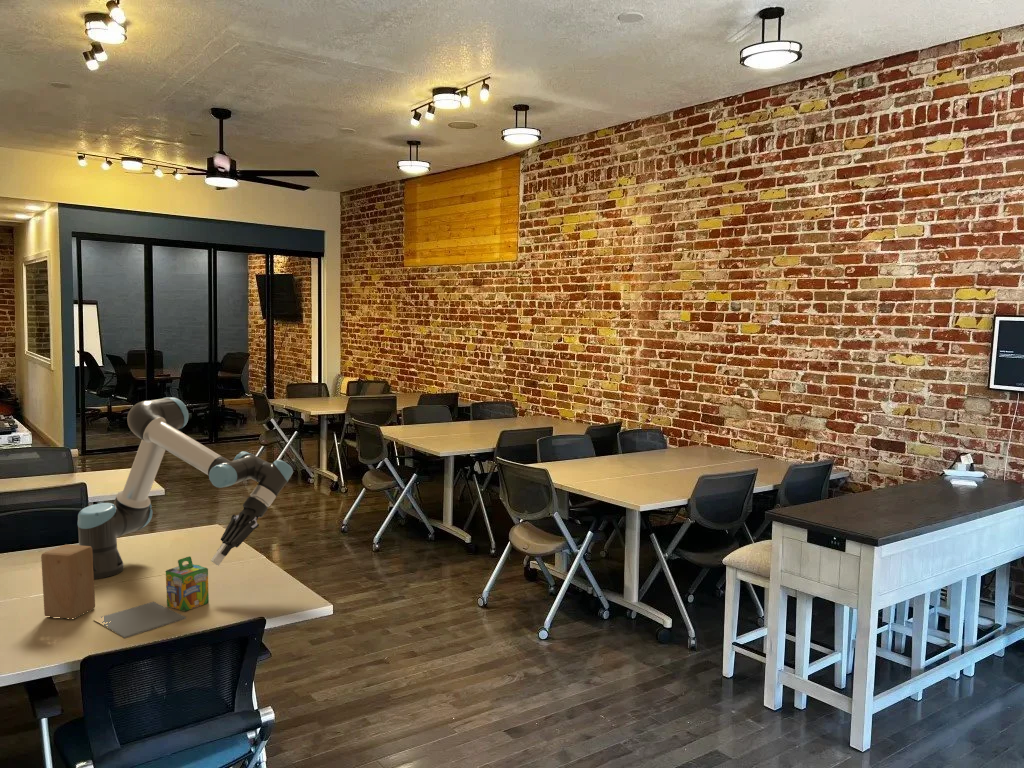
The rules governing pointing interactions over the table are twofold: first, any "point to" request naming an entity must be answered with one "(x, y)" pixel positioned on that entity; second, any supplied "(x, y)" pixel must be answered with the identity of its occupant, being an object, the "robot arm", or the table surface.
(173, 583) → the chalk box
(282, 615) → the table surface
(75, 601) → the wooden block
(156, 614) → the mat
